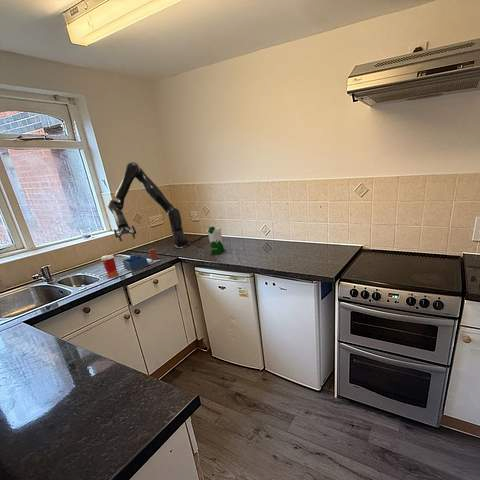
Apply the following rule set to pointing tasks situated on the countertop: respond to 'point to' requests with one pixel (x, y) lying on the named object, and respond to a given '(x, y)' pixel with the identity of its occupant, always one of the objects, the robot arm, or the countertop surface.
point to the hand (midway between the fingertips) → (127, 239)
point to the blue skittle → (133, 257)
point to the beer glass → (109, 265)
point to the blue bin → (135, 263)
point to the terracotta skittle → (153, 254)
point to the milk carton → (215, 240)
